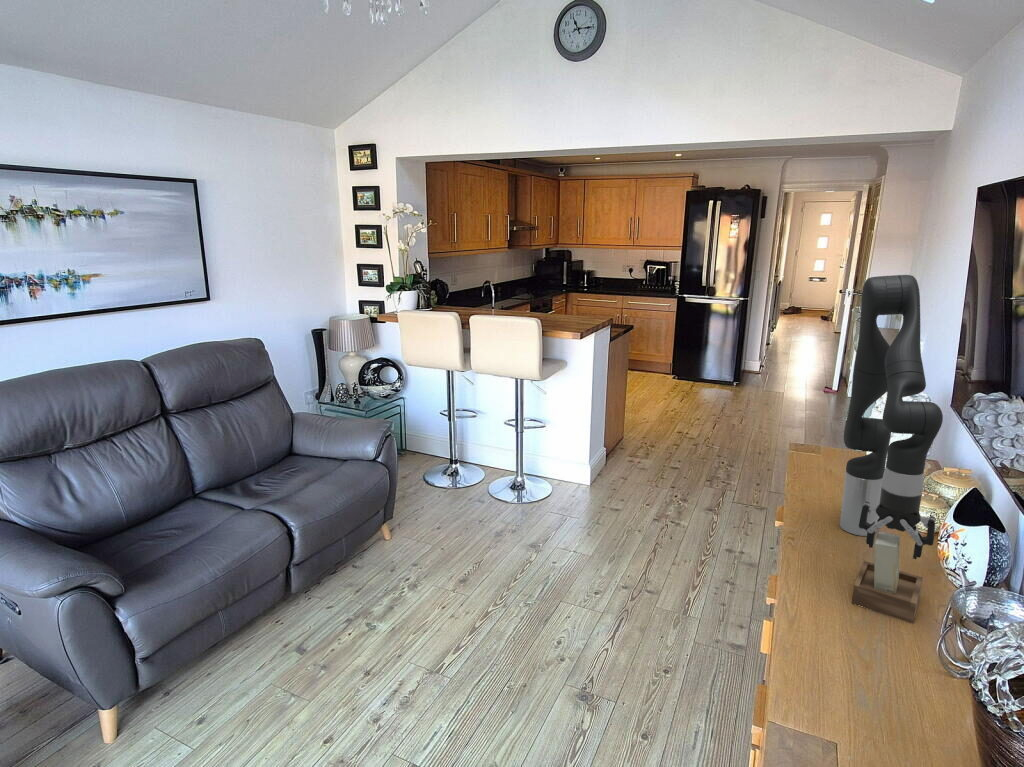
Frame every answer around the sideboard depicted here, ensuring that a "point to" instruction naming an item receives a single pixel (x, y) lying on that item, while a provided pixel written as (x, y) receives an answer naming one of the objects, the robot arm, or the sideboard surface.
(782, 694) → the sideboard surface
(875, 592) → the brown wooden tray
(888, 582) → the skincare box
